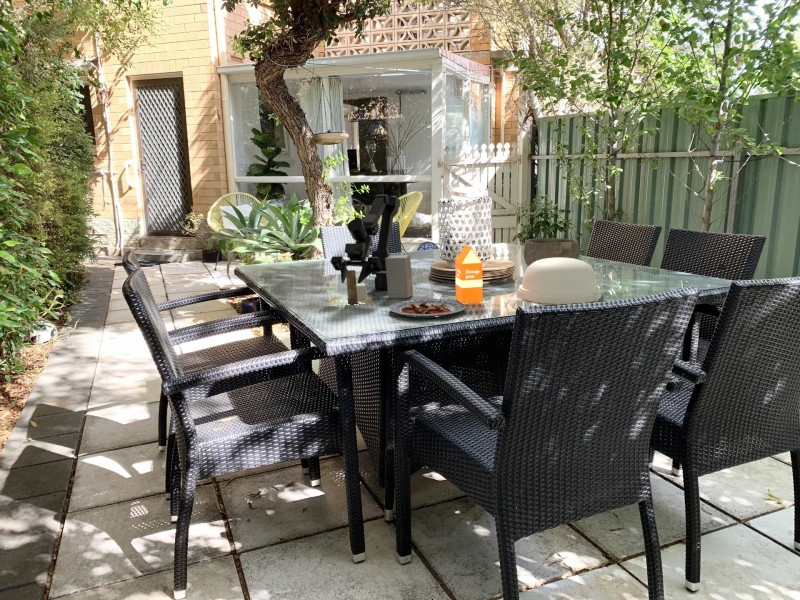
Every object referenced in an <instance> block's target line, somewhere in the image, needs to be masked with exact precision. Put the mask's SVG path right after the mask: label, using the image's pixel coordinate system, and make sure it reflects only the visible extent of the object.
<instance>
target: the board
mask: <svg viewBox="0 0 800 600" xmlns="http://www.w3.org/2000/svg"><path fill="white" fill-rule="evenodd" d="M342 298H343V299H345V298H346V299H347V300H348V295H346V296H344V295H343V296H329V297H328V301H327V307H328V308H329V307H330V308H332V306H334V302H335V301H336V300H337V301H338V300H341V299H342ZM337 301H336V302H337ZM357 301H358V302H361V303H365V305H364V306H372V305H373V300H372V296H371V294H369V295H368V294H366V299H357ZM357 304H359V303H357ZM357 304H356V305H357ZM335 305H336V303H335ZM338 305H339V304H338ZM357 306H358V305H357Z"/></svg>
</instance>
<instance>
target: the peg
mask: <svg viewBox="0 0 800 600" xmlns="http://www.w3.org/2000/svg"><path fill="white" fill-rule="evenodd" d="M345 280H346V291H347V296H348V304H350V305H354V304H357V303H358V301H357V287H356V284H357V275H356V270H355V269H354V270H351V269H350V270H349V269H348V271H346V279H345Z"/></svg>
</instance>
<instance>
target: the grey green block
mask: <svg viewBox="0 0 800 600" xmlns="http://www.w3.org/2000/svg"><path fill="white" fill-rule="evenodd" d="M356 287H357V299H366V295H367V294H366V283H365V282H361V283H360V284H358V282H356Z"/></svg>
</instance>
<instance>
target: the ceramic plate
mask: <svg viewBox="0 0 800 600" xmlns="http://www.w3.org/2000/svg"><path fill="white" fill-rule="evenodd" d="M445 307H447V308H445ZM448 308H450V309H452V311H451V310H450V309H448ZM388 309H389V310H390V311H391V312H393V313H395V314H398V315H399V314H400V315H404V316H406V315H408V316H407V317H410V316H416V317H415V318H418V317H432V318H436V317H435V316H441V317H445V316H444V315H446V316H449V315H451V314H456V313H459V312H462V311H463V310H465V309H466V304H463V303H461V302H458V301H457V300H453V299H443V298H416V299H408V300H407V299H406V300H403V301H402V300H401V301H398V302H395V303H391V305H390V306H389V307H388ZM448 314H449V315H448Z"/></svg>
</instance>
